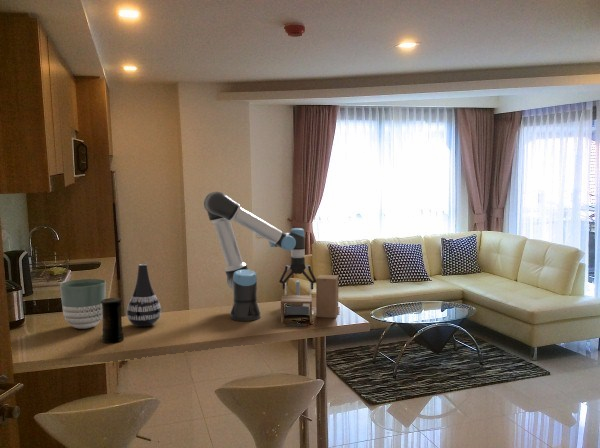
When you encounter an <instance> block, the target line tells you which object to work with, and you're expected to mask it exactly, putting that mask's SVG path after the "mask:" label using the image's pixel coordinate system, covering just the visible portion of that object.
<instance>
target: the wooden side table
mask: <svg viewBox="0 0 600 448" xmlns="http://www.w3.org/2000/svg"><path fill="white" fill-rule="evenodd" d="M291 304H303V305H309V323H310V324H312V323H313V315H312V310H313V307H312V306H313V295H312V294H311V295H310V294H300V295H296V294H286V295H285V294H282V296H281V299H280V323H281V324H283V323H284V320H285V305H291Z"/></svg>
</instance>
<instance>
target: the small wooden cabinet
mask: <svg viewBox="0 0 600 448" xmlns="http://www.w3.org/2000/svg"><path fill="white" fill-rule="evenodd" d="M300 284H301V282H300V280H298V279H297V280H296V281H295V290H296V291H295V293H296V294H295V295H301V294H300V293H301V292H300V289H301V288H300V287H301V286H300ZM285 316H309V317H310V304H303V306H287V305H284V317H285Z"/></svg>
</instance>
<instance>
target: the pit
mask: <svg viewBox="0 0 600 448" xmlns="http://www.w3.org/2000/svg"><path fill="white" fill-rule="evenodd" d="M301 323H302V322H301ZM301 323H300V322H298V323H296V322H295V323H293V322H292V323H291V322H290V323H287V322H286V323H285V327H287V328H288V327H291V328H294V327H297V328H300V327H301V328H303V327H306V328H307V326H308V325H307V324H308V323H307V322H306V324H301Z"/></svg>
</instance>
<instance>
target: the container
mask: <svg viewBox="0 0 600 448" xmlns="http://www.w3.org/2000/svg"><path fill="white" fill-rule="evenodd" d="M101 303H102V308H103V309H102V315H103V318H102V336H101V342H102V344H107V345H108V344H117V343H118V344H119V343H121V342H123V341H124V333H123V326H122V325H123V323H122V322H123V321H122V298H121V297H108V298H106V299H103V300H102V301H101Z"/></svg>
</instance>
